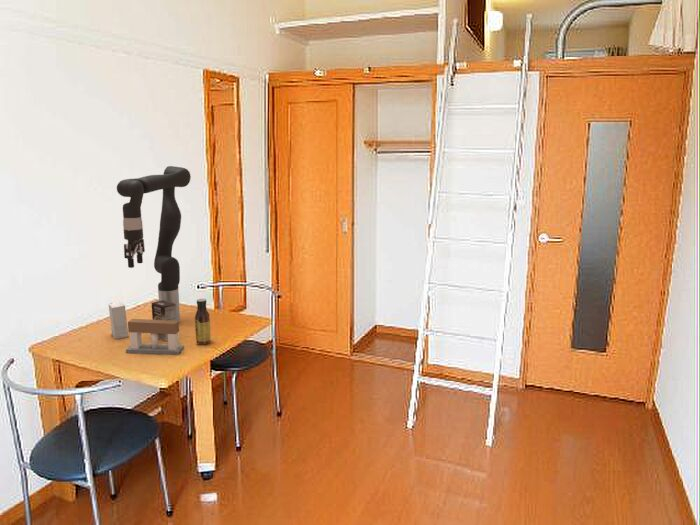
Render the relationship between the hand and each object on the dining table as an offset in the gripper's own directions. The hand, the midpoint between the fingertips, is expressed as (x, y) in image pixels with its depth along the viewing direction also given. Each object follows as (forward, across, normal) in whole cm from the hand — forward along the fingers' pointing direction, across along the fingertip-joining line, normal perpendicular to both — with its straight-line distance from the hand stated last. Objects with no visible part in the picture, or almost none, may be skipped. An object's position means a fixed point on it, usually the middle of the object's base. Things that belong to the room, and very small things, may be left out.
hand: (135, 265), depth 229 cm
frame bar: (+26, +11, +11) cm, 30 cm away
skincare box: (+34, -5, -12) cm, 37 cm away
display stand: (+34, +11, +11) cm, 37 cm away
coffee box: (+34, -5, +9) cm, 36 cm away
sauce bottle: (+34, 0, +28) cm, 44 cm away
